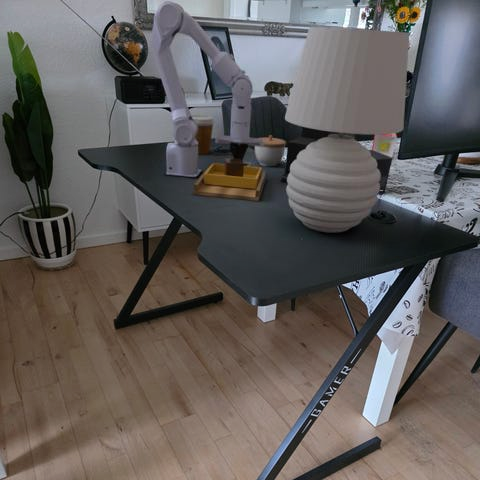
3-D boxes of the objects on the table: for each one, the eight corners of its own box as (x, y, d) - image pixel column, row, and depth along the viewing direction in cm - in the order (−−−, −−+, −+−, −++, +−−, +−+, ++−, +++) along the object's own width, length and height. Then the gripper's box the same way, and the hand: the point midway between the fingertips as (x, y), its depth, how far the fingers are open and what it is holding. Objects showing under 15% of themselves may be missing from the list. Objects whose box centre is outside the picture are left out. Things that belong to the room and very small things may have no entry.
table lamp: (322, 201, 124) (350, 30, 103) (400, 231, 108) (451, 36, 87) (253, 217, 111) (267, 24, 89) (329, 254, 94) (370, 28, 73)
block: (225, 180, 130) (226, 162, 127) (224, 175, 134) (225, 158, 132) (242, 180, 131) (244, 163, 128) (240, 176, 135) (241, 158, 132)
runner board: (193, 194, 123) (193, 184, 122) (209, 174, 141) (209, 165, 140) (258, 201, 122) (259, 190, 120) (265, 179, 140) (266, 170, 138)
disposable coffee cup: (191, 148, 170) (190, 114, 164) (215, 150, 170) (216, 116, 163) (185, 154, 163) (184, 118, 156) (210, 156, 162) (211, 120, 155)
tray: (203, 183, 128) (203, 173, 127) (215, 168, 143) (215, 159, 142) (256, 189, 127) (257, 179, 125) (262, 172, 142) (263, 163, 140)
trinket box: (281, 169, 152) (284, 140, 147) (250, 166, 153) (252, 136, 148) (285, 162, 161) (288, 134, 156) (256, 159, 162) (258, 131, 157)
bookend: (312, 188, 135) (324, 102, 122) (280, 181, 139) (289, 97, 127) (339, 173, 152) (352, 96, 139) (309, 167, 157) (320, 92, 144)
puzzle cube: (371, 156, 177) (376, 134, 173) (371, 151, 184) (375, 131, 180) (392, 158, 176) (397, 137, 172) (391, 154, 183) (395, 133, 178)
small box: (347, 184, 140) (353, 149, 135) (364, 183, 143) (371, 149, 137) (368, 195, 132) (375, 158, 127) (385, 193, 135) (394, 157, 129)
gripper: (213, 122, 130) (212, 170, 137) (263, 126, 128) (259, 174, 136) (218, 118, 136) (216, 164, 143) (265, 122, 134) (262, 168, 142)
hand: (238, 169), depth 140 cm, fingers closed, pressing on tray
